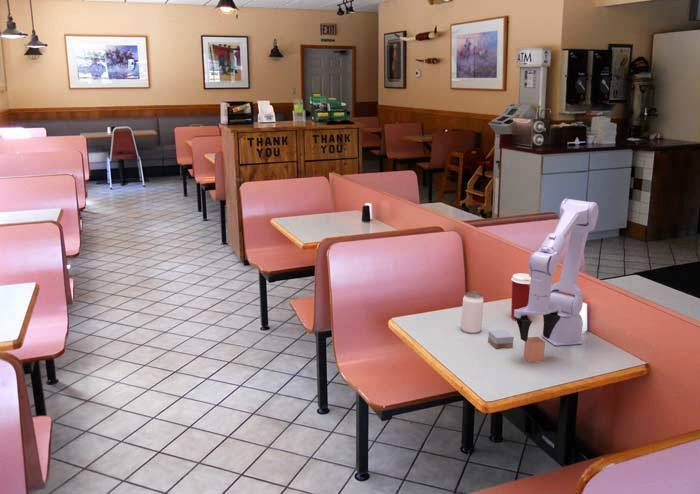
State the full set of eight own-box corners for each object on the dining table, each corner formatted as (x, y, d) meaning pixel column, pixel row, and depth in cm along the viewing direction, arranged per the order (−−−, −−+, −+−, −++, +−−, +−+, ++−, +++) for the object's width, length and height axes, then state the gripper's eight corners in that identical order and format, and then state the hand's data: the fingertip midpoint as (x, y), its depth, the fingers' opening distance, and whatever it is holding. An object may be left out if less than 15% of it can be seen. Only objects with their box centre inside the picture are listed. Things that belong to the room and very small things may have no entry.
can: (476, 335, 201) (479, 299, 198) (457, 330, 204) (460, 295, 201) (484, 329, 206) (486, 293, 203) (465, 324, 209) (467, 290, 206)
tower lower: (504, 342, 197) (504, 336, 196) (512, 349, 192) (513, 343, 191) (487, 343, 196) (488, 337, 195) (495, 350, 190) (496, 344, 190)
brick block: (535, 355, 187) (537, 336, 185) (542, 361, 183) (544, 341, 181) (523, 356, 186) (525, 337, 184) (530, 362, 182) (532, 342, 180)
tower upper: (504, 336, 197) (505, 329, 196) (513, 342, 191) (513, 336, 191) (488, 337, 195) (488, 331, 195) (496, 344, 190) (496, 337, 190)
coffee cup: (535, 323, 212) (540, 280, 208) (510, 322, 212) (514, 279, 208) (529, 314, 220) (533, 272, 216) (505, 313, 220) (509, 272, 216)
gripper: (552, 287, 185) (547, 331, 189) (509, 291, 181) (505, 336, 184) (568, 295, 179) (562, 339, 182) (524, 299, 174) (519, 345, 178)
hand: (535, 338), depth 183 cm, fingers open, 7 cm apart
